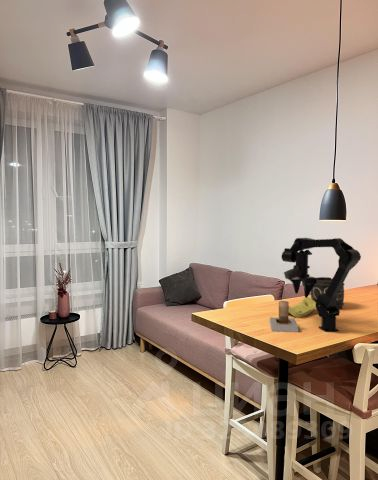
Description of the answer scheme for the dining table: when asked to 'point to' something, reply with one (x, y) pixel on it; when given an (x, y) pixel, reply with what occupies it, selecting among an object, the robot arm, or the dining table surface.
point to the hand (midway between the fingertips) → (301, 295)
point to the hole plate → (283, 325)
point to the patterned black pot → (322, 288)
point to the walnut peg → (283, 311)
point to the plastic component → (303, 308)
